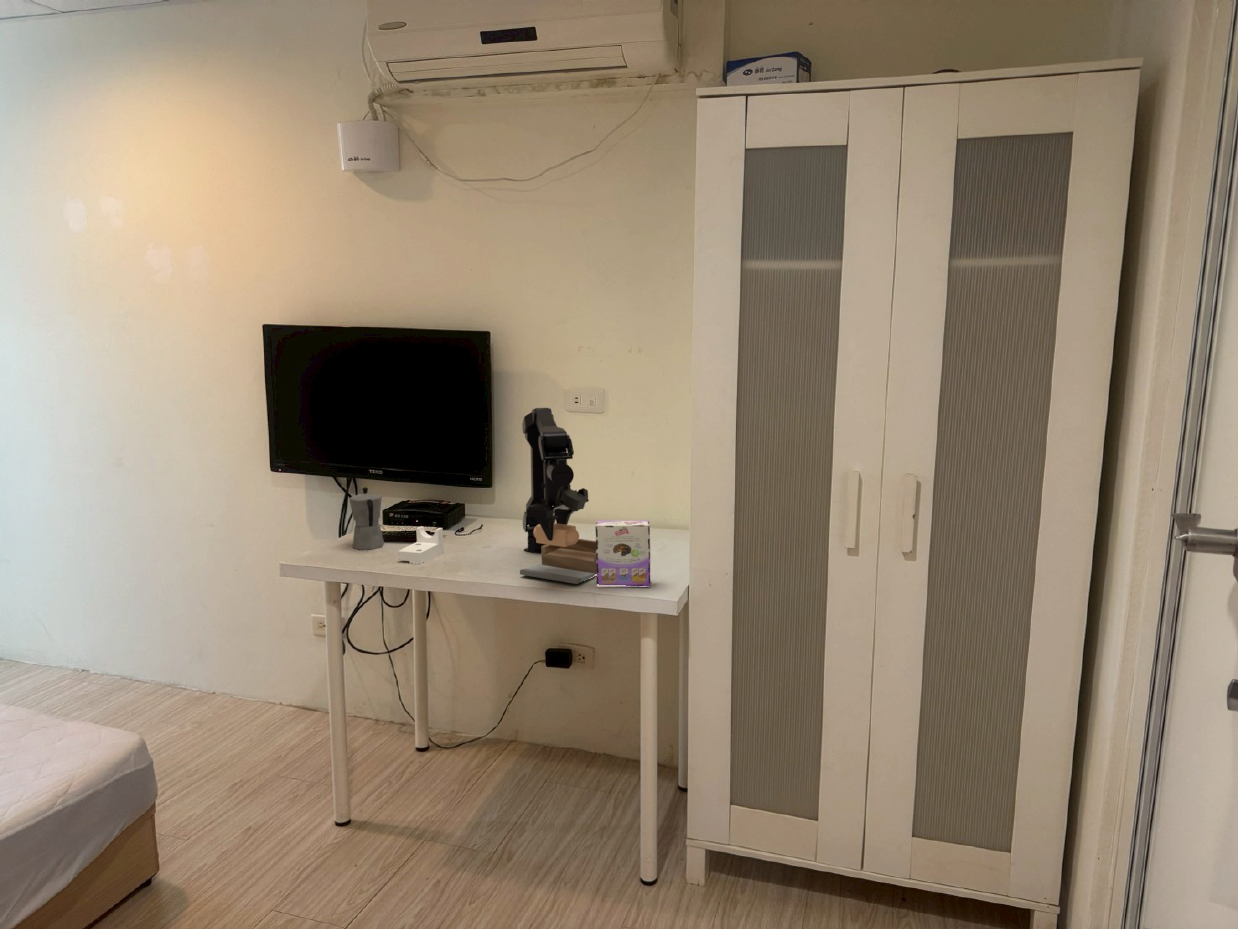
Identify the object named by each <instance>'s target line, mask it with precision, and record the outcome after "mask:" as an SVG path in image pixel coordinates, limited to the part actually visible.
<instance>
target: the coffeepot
mask: <svg viewBox="0 0 1238 929" xmlns="http://www.w3.org/2000/svg"><path fill="white" fill-rule="evenodd" d="M368 490H369V488H368V487H367V486H366V487H362V493H360V494H359V493H358V494H356V495H353V496H351V497H350V498H349V504H350V508H351V513H352V518H353V521H354V522H355V525H354V531H353V540H352V548H353V549H355V550H358V551H371V550H377V549H380V548H382V547H383V546H384V545H385V541H384V536H383V532H382V529H381V525H380V520H379V519H380V517H381V508H382V497H383V496H382V495H378V494H375V493H368Z"/></svg>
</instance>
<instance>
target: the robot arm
mask: <svg viewBox="0 0 1238 929" xmlns="http://www.w3.org/2000/svg"><path fill="white" fill-rule="evenodd" d="M521 425H522V426H521V427H522V433H523V434H524V438H525V440H526V442H527V444H528V445H529V447H530V487H531V488H530V492H531V494H530V497H529V499H528V501H527V502H526V504H525V511H524V512H523V517H522V530H523V531H524V533H527V547H526V548H524V549H523V552H529V553H537V554H541V546H544V545H546V544H541V543H536V538H535V537H534V534H533V531H534V528H535V527H536V526H537V525H539V524H540V526H541V527H542V529H543V531H544V533H545V535H546V537H547V539H548V540H549V541H552V539H553V528H554V523H557V524H565V525H569V520H570V518H571V516H572V515H573V513H576V512H578V511H580V510H584V508H585V505H586V503H588V502H589V500H590V499H589V492H588V489H586V488H580V489H578V490H577V489H575V490H574V489H572V488H571V483H572V481H573V480H574V476H575V475H574V474H575V473H574V470H573V468H572V467H571V466H570V465H568V460H573V458H574V457H573V456H574V453H575V451H574V447H573V442H572V439H571V436H570V435H569V434H568V433H567V431H566V430H565V429H564V428H563V427H559V426H558V425H557V423H556V421H555V418H554V414H553V413H552V409H551V407H535V408H533V409H532V410H531V411H530V412H529V413H528V414H526V415H524V416H523V420H522V424H521Z"/></svg>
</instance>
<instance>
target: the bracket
mask: <svg viewBox="0 0 1238 929" xmlns="http://www.w3.org/2000/svg"><path fill="white" fill-rule="evenodd" d="M443 530H444V529H443V527H439V528H437V529H435V530H434V534H433V535H430V534H428V533H427V532H426V530H425V527H424V526H422V525H421V526H419V527H417V528H416V530H415V531H416V542H413V543H412V544H410V545H407V546H406V547H404V548H401V549H399V550H397V560H398V561H402V562H403V561H404V562H409V564H410V563H417V564H416V565H422V564H421V563H423V562H425V561H426V562H428V561H431V559H434V558H435V557H438V556H439V555H441V554H444V531H443ZM437 555H438V556H437ZM427 560H428V561H427ZM426 562H425V563H426ZM423 564H424V563H423Z"/></svg>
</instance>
